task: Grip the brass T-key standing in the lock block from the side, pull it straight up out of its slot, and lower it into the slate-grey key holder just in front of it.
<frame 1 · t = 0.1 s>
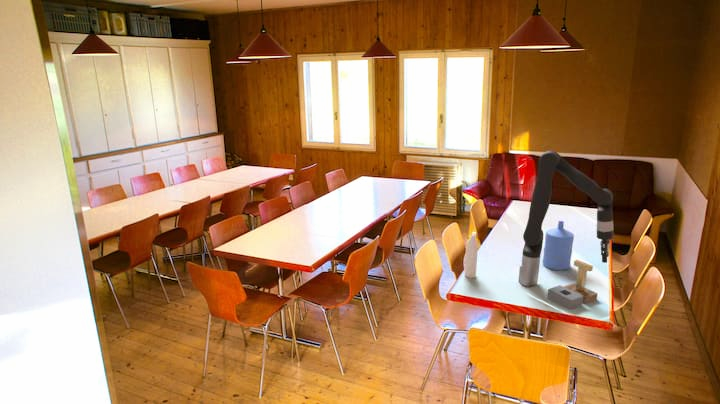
hand: (605, 259, 242), 22 cm above the table, tool pointing down, fingers open, 8 cm apart
water jug: (556, 265, 290), on the table
water bottle: (470, 275, 278), on the table
lock block: (578, 297, 250), on the table
key holder: (564, 303, 245), on the table
t key: (579, 296, 250), point 1 cm above the table, touching lock block
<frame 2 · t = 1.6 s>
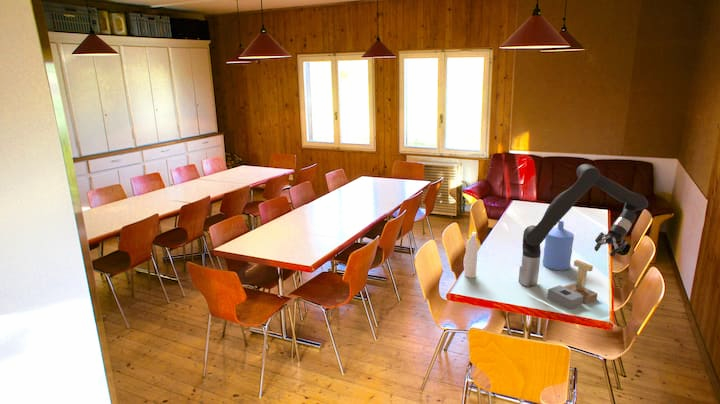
hand: (603, 253, 244), 25 cm above the table, tool tilted 45°, fingers open, 8 cm apart
nothing on the table moved.
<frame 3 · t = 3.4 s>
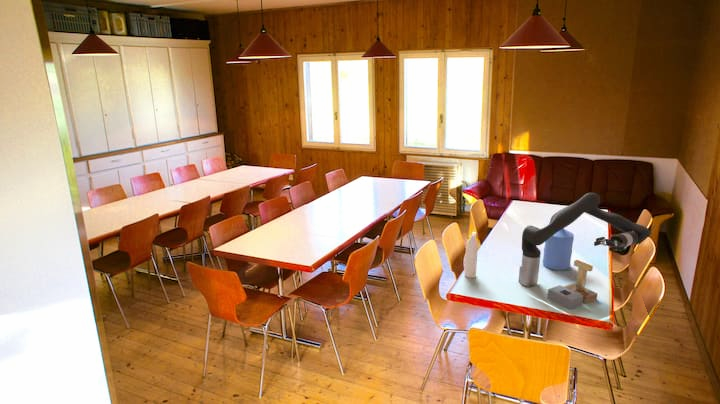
hand: (602, 246, 249), 26 cm above the table, tool horizontal, fingers open, 8 cm apart
nothing on the table moved.
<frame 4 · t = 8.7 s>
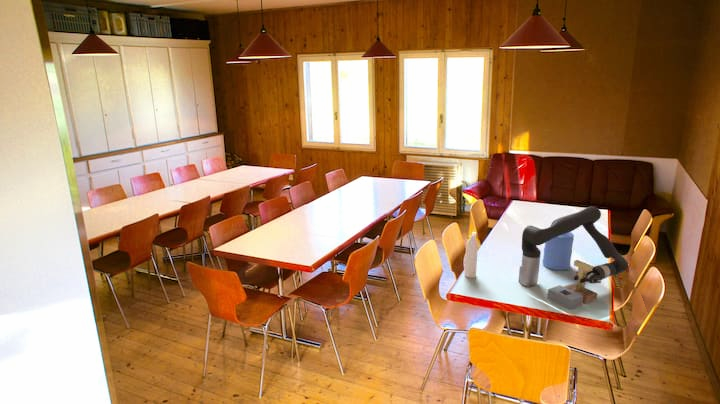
hand: (577, 279, 246), 11 cm above the table, tool horizontal, fingers closed on t key, 3 cm apart
t key: (579, 296, 250), point 1 cm above the table, touching gripper, lock block
everything else where it was.
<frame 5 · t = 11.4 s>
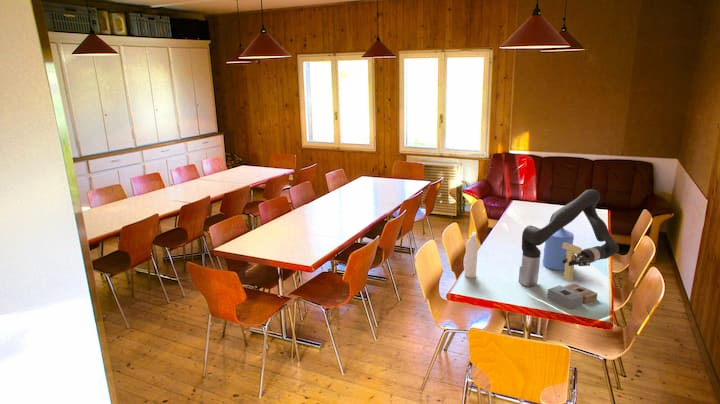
hand: (566, 262, 237), 23 cm above the table, tool horizontal, fingers closed on t key, 3 cm apart
t key: (567, 279, 242), point 13 cm above the table, touching gripper
everything else where it was.
when the fingers open (12 cm above the table, at t = 14.3 s): t key drops 1 cm, resting on key holder.
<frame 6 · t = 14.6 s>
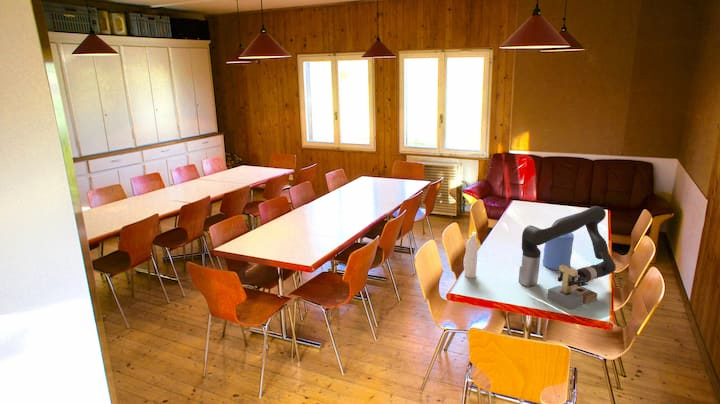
hand: (563, 281, 240), 13 cm above the table, tool horizontal, fingers open, 5 cm apart
t key: (564, 301, 245), point 1 cm above the table, touching key holder
everything else where it was.
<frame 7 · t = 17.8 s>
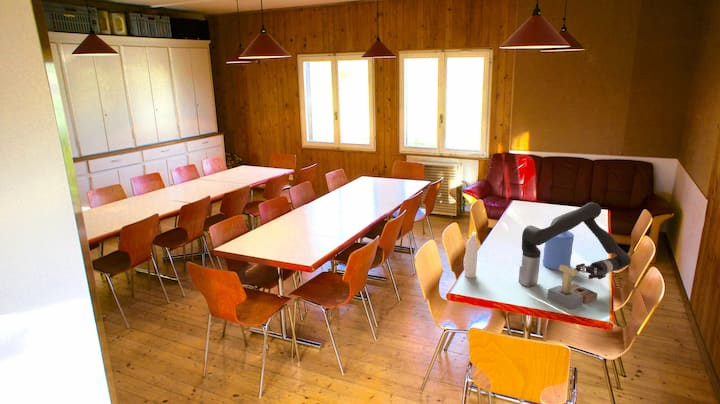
hand: (581, 274, 247), 14 cm above the table, tool horizontal, fingers open, 8 cm apart
nothing on the table moved.
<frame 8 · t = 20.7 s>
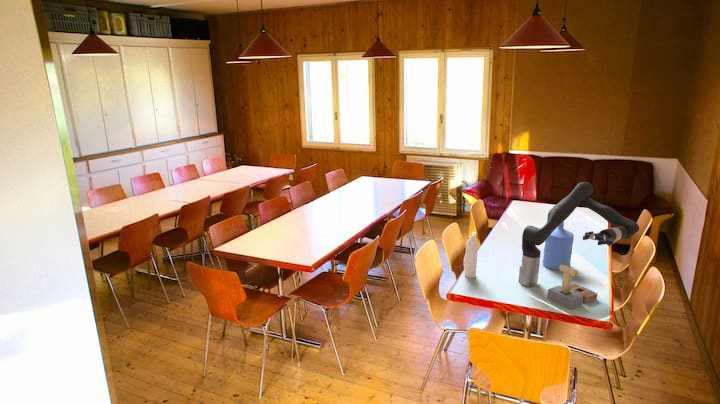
hand: (590, 240, 247), 30 cm above the table, tool horizontal, fingers open, 8 cm apart
nothing on the table moved.
at the end: t key 0.1 cm off-centre on the key holder, point 1.0 cm above the key holder's base; t key touching key holder; the gripper is holding nothing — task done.
